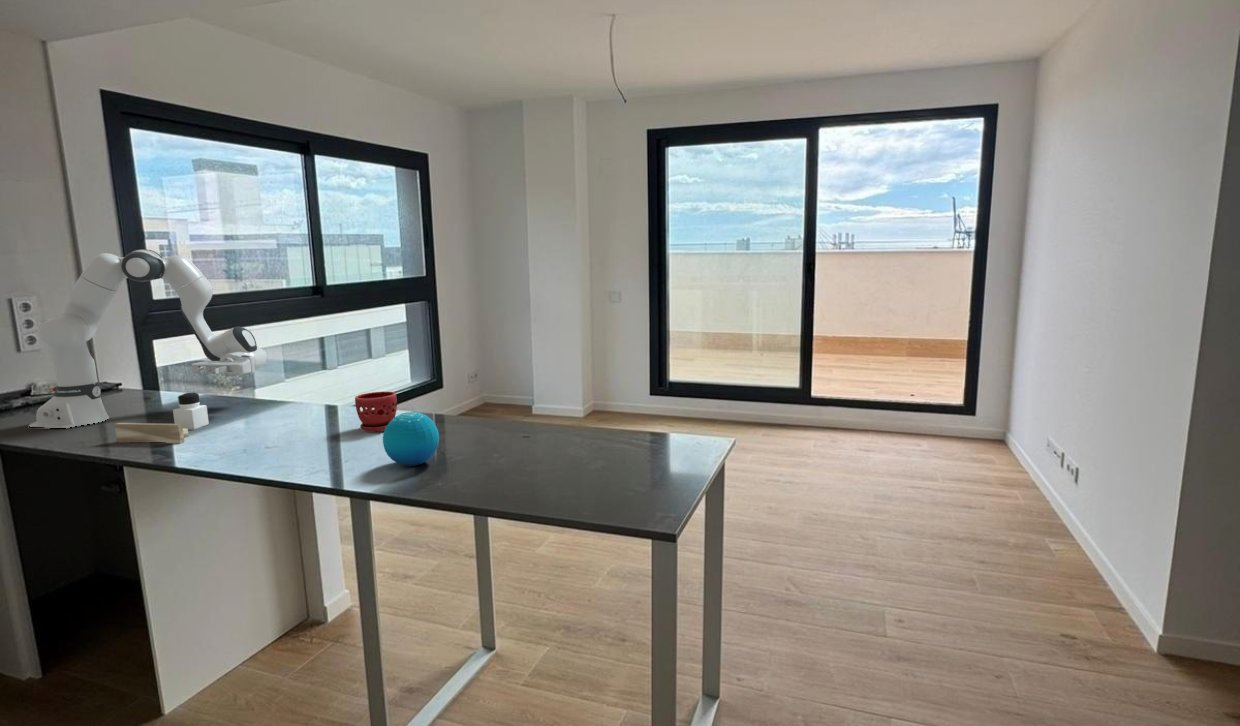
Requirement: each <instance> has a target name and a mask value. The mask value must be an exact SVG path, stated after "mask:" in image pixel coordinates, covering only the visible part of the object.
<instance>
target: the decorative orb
mask: <svg viewBox="0 0 1240 726" xmlns="http://www.w3.org/2000/svg"><path fill="white" fill-rule="evenodd" d="M439 441H440V434H439V430H438V428H437V426H436V424H435V422H434V421H433V419H431V418H430V417H429V416H428V415H426V414H423V413H421V412H418V411H417V412H416V411H407V412H402V413H400V414H397V415H395V418H393V419H392V420H391V421H390V422H389V423H388V425H387V426H386V428H385V430H384V431H383V434H382V445H383V448H384V452H385V453H386V455H387V456H388V458H390V459H391V460H392V461H394V462H395V463H396V464H399V465H401V466H406V467H414V466H418V465H421V464H423V463H425V462H427V461H429V460H430V459H431V458H432V457H433V455H434V454H435V452H436V451H437V449H438V446H439Z"/></svg>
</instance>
